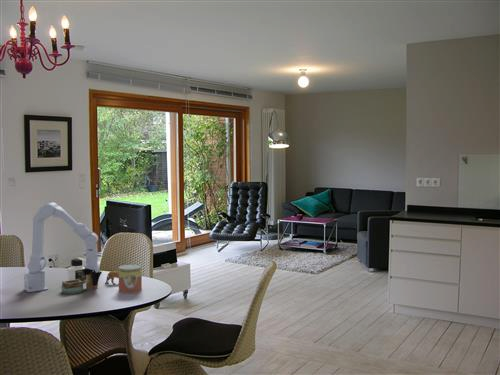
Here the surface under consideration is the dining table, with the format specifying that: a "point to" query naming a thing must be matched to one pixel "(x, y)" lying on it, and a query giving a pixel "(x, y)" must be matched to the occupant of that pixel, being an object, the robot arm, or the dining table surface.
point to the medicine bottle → (76, 270)
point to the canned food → (130, 279)
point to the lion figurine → (112, 276)
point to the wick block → (89, 283)
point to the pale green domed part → (72, 290)
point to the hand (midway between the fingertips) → (92, 283)
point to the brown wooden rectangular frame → (72, 283)
